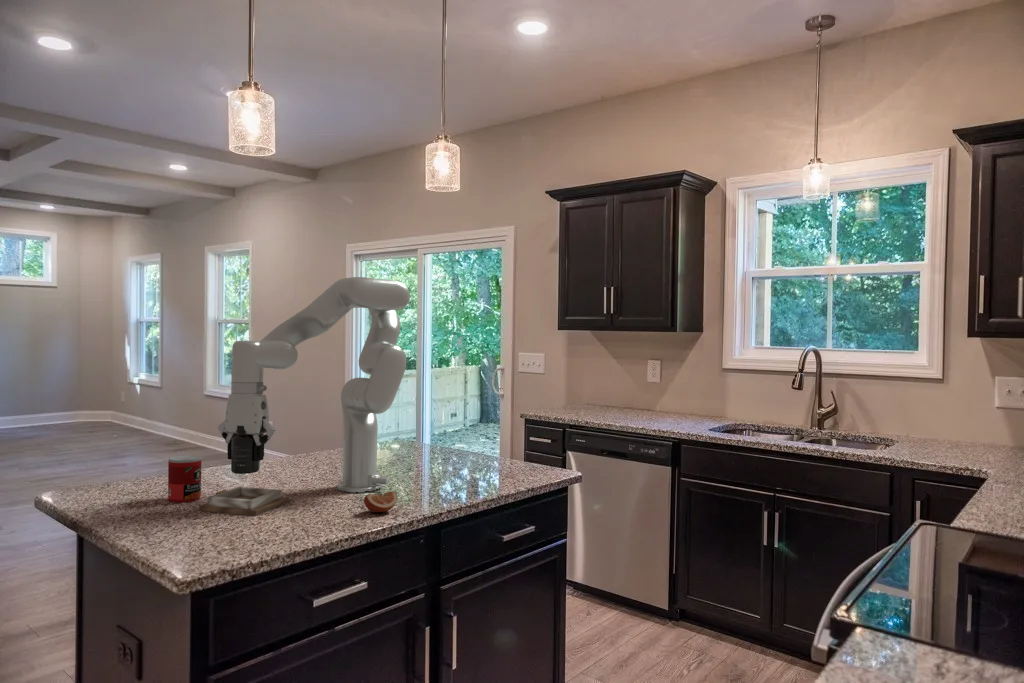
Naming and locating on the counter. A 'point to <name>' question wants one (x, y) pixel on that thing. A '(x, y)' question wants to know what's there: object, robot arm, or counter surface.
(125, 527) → the counter surface
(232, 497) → the pocket board
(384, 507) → the fruit slice
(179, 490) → the canned food
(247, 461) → the supplement bottle
